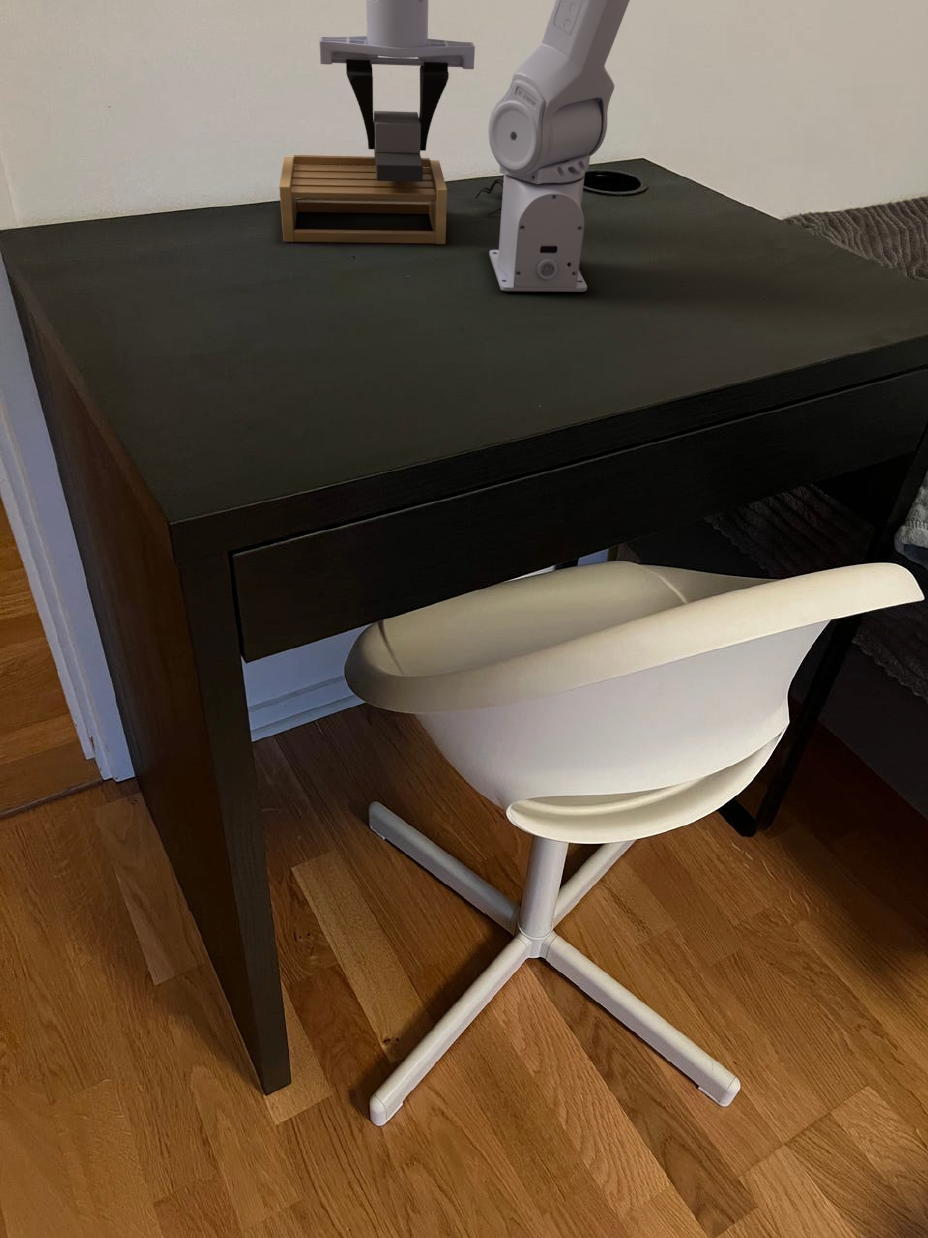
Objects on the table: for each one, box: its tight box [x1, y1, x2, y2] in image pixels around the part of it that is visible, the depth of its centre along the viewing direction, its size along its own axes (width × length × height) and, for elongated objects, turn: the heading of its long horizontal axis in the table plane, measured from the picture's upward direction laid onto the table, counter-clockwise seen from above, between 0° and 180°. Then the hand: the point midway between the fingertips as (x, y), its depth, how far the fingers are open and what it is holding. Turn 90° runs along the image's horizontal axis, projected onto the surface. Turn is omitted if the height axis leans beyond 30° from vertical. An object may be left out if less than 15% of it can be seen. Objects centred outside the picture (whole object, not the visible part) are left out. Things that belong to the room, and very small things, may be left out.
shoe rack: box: [278, 154, 448, 245], centre depth 96 cm, size 10×16×5 cm, turn 96°
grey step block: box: [373, 110, 423, 182], centre depth 93 cm, size 9×4×4 cm, turn 6°
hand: (397, 147), depth 95 cm, fingers closed on grey step block, 4 cm apart
